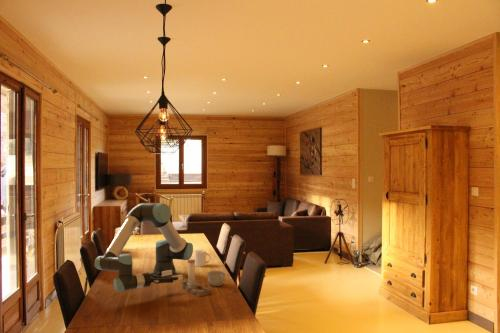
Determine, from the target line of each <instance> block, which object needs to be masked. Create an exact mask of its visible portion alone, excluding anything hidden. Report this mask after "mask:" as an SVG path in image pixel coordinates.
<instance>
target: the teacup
mask: <svg viewBox="0 0 500 333" xmlns="http://www.w3.org/2000/svg"><path fill="white" fill-rule="evenodd" d="M207 281H208V283H209V285H211V286H212V287H213V286H214V287H220V286H222V285H224V283H225V281H226V271H223V270H211V271H208V272H207Z"/></svg>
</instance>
